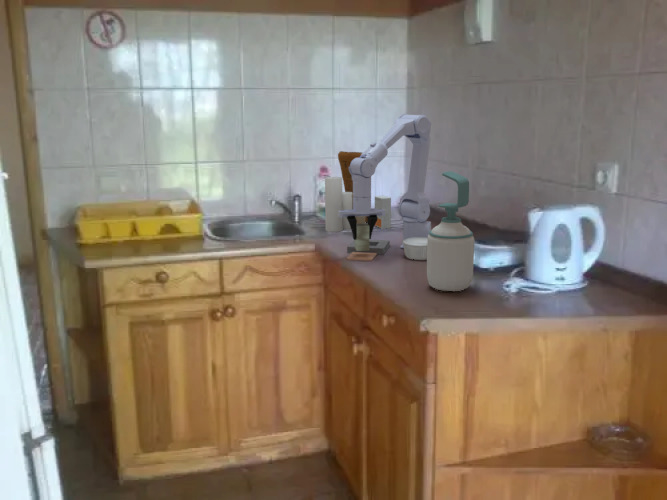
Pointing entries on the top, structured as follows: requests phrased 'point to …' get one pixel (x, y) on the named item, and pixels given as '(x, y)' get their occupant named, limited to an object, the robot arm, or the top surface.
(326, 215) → the pair of white cylinders
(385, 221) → the skincare box
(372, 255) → the coaster
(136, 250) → the top surface
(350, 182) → the pancake mix bag
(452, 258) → the soap bottle
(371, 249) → the pocket board
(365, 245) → the sage block
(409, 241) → the ramekin
